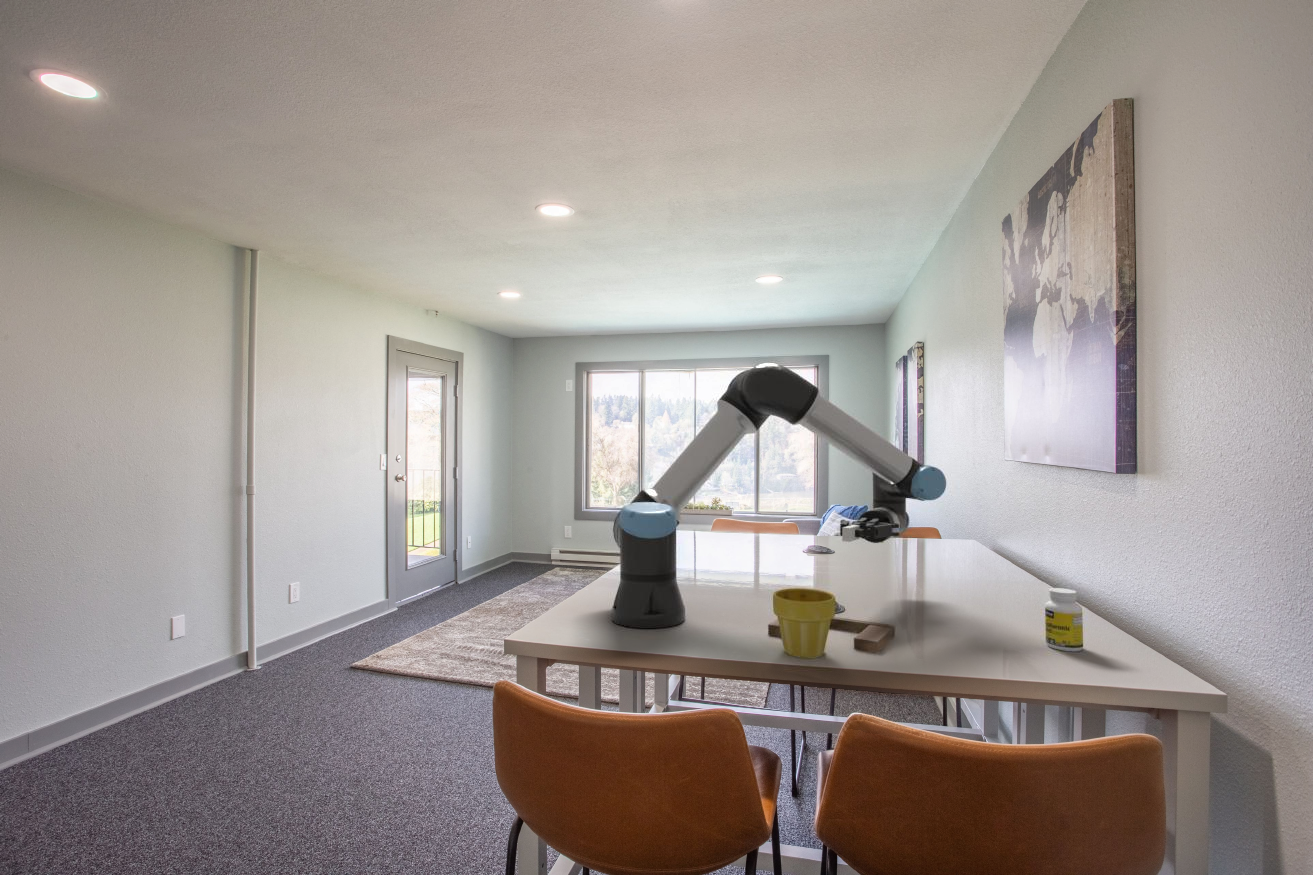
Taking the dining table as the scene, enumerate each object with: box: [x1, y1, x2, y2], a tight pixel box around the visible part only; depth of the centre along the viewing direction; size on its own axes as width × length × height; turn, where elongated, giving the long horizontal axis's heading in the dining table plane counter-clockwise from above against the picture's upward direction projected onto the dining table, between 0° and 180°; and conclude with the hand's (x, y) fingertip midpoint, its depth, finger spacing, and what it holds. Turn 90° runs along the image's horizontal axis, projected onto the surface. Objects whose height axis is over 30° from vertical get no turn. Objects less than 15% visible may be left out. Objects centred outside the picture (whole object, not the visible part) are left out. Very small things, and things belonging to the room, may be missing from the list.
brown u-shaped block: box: [767, 616, 896, 653], centre depth 115 cm, size 20×12×2 cm, turn 56°
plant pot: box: [772, 587, 836, 659], centre depth 105 cm, size 10×10×10 cm
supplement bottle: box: [1044, 587, 1084, 653], centre depth 106 cm, size 5×5×10 cm
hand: (846, 534), depth 122 cm, fingers closed
